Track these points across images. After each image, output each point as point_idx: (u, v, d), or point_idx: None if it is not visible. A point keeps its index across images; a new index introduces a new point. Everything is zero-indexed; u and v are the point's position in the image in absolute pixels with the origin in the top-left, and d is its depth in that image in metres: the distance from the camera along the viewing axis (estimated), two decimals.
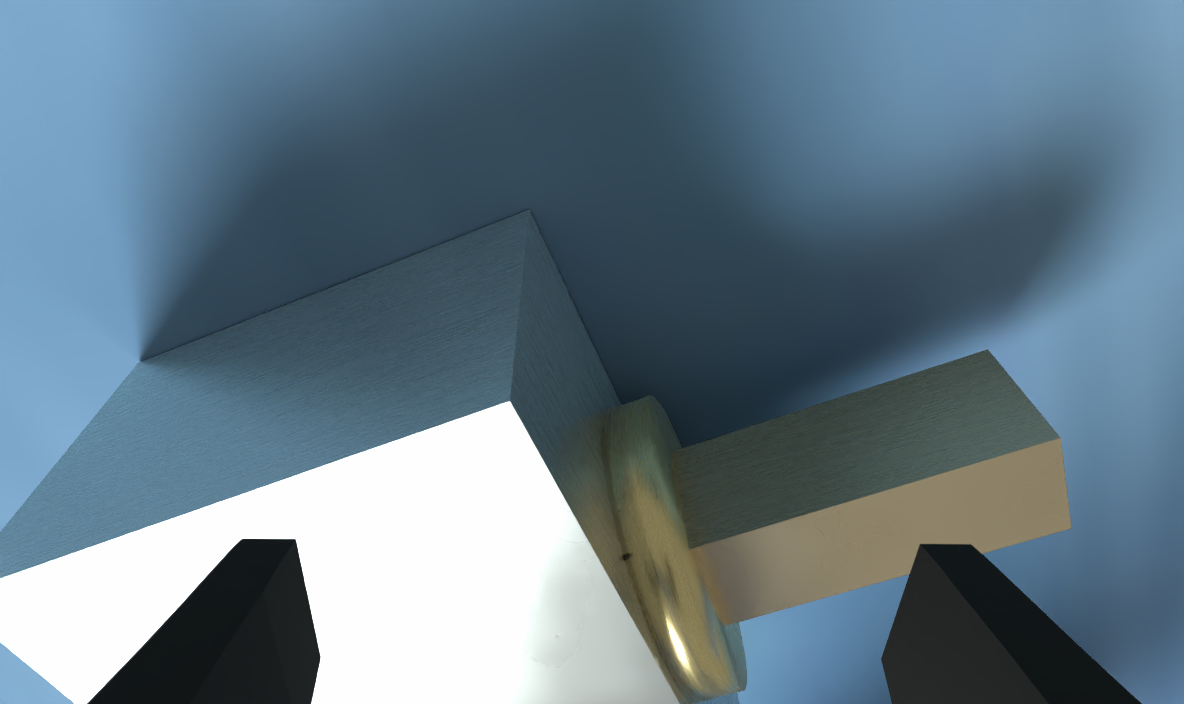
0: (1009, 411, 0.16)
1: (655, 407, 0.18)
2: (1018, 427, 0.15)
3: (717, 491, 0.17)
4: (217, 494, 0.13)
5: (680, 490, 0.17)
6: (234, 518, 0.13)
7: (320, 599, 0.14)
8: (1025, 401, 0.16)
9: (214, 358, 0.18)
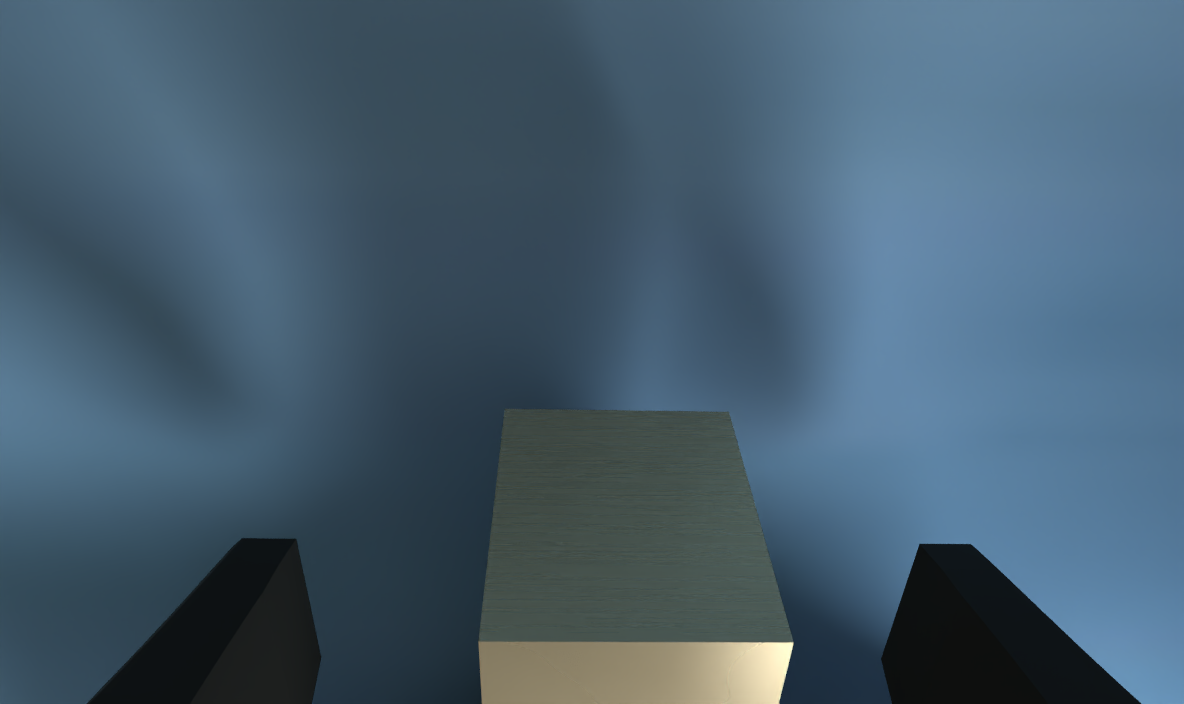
0: None
1: None
2: None
3: None
4: None
5: None
6: None
7: None
8: (490, 539, 0.07)
9: None
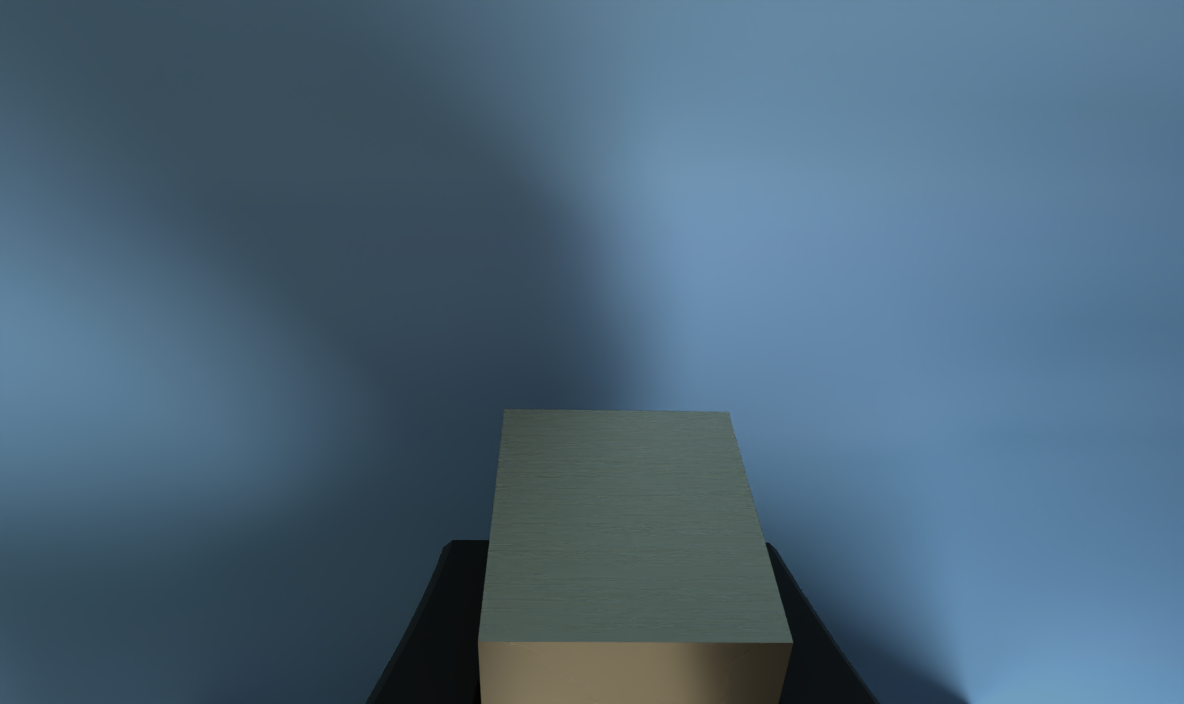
0: None
1: None
2: None
3: None
4: None
5: None
6: None
7: None
8: None
9: None
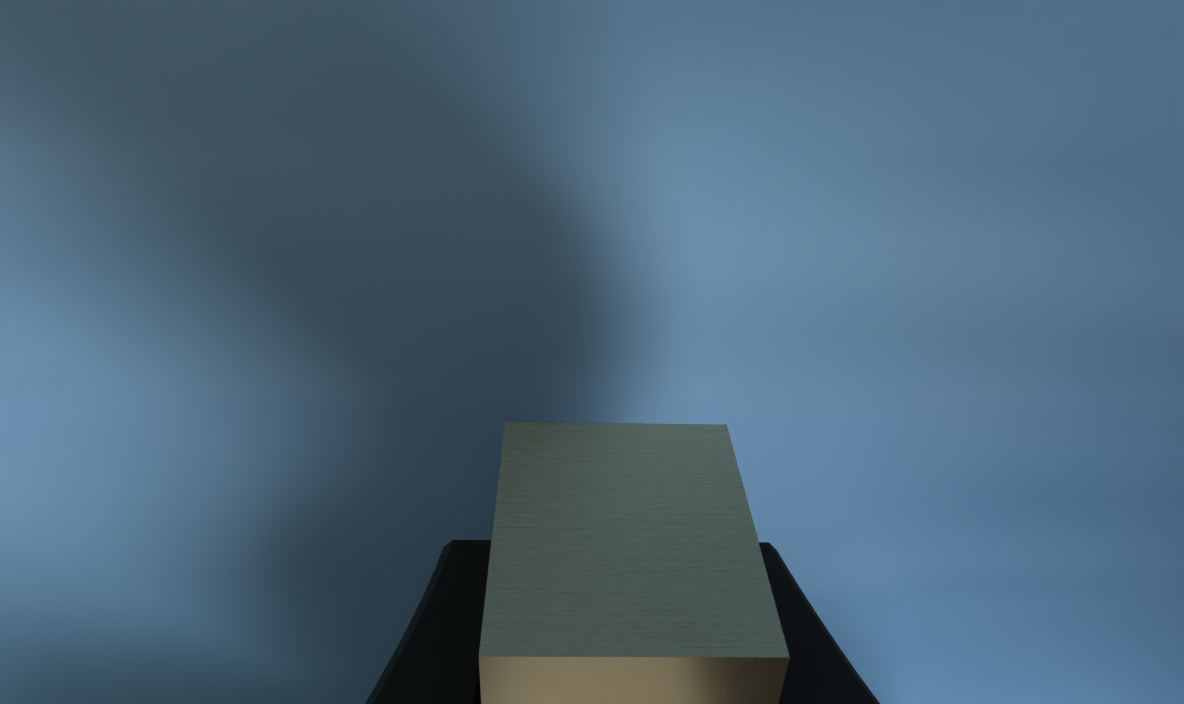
0: None
1: None
2: None
3: None
4: None
5: None
6: None
7: None
8: (490, 553, 0.07)
9: None
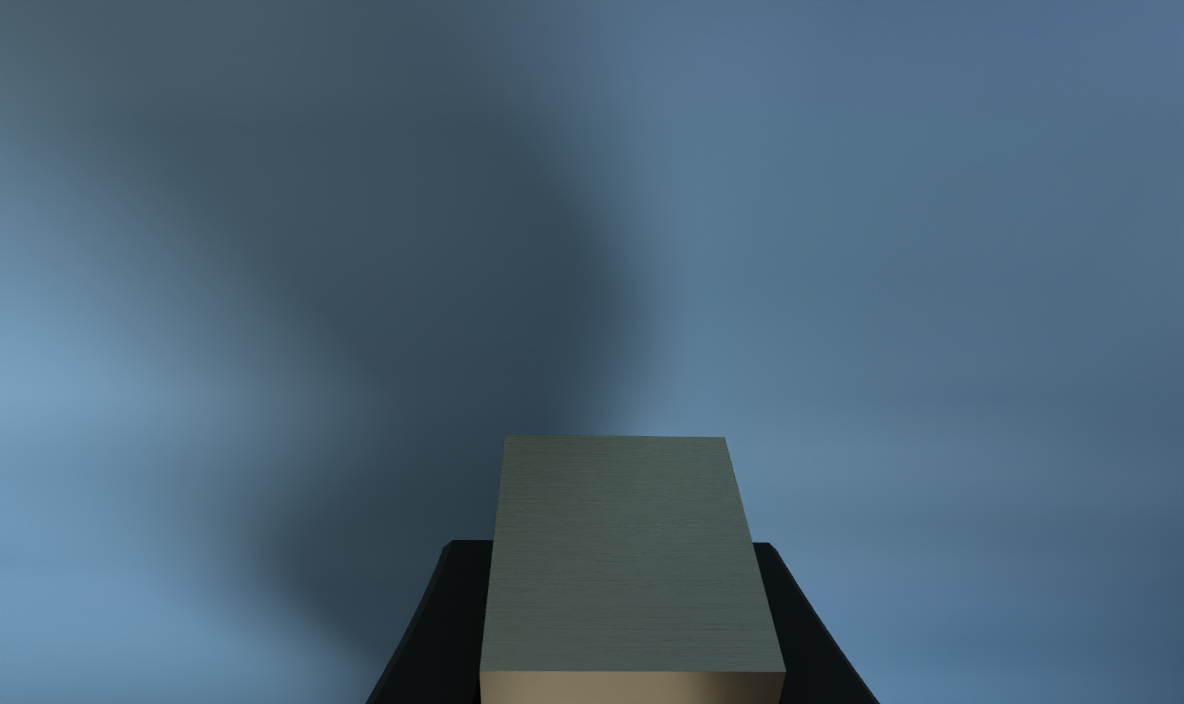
0: None
1: None
2: None
3: None
4: None
5: None
6: None
7: None
8: None
9: None
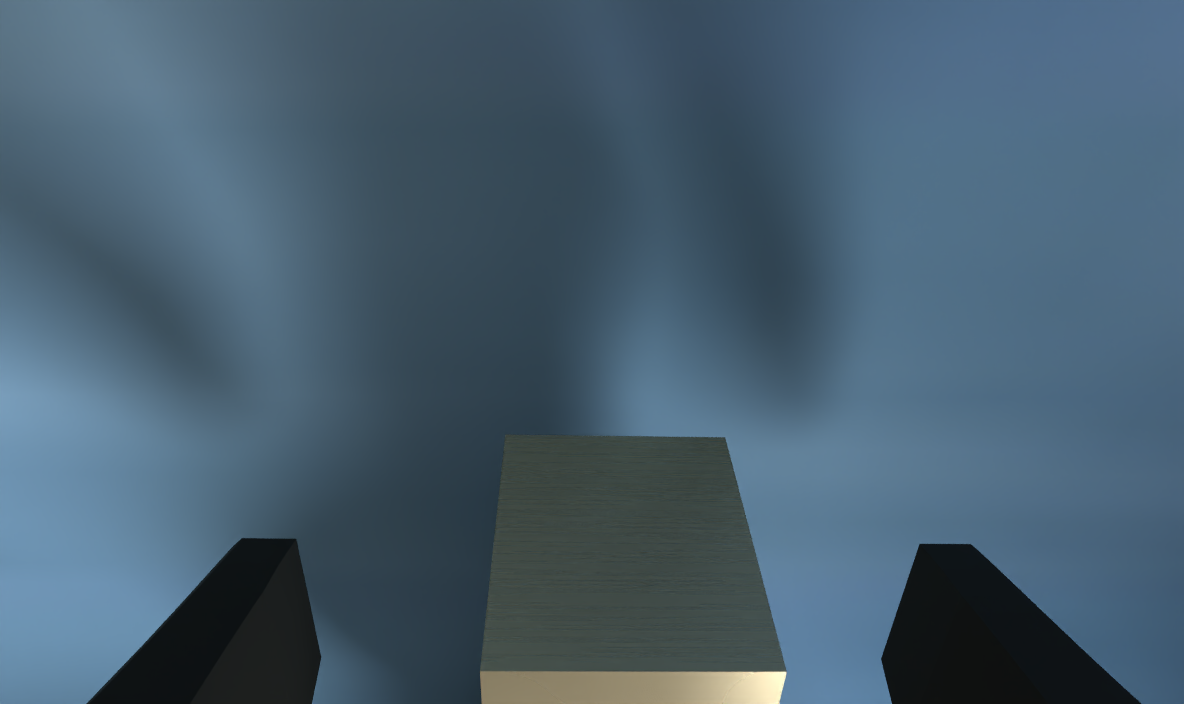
0: None
1: None
2: None
3: None
4: None
5: None
6: None
7: None
8: (491, 567, 0.07)
9: None
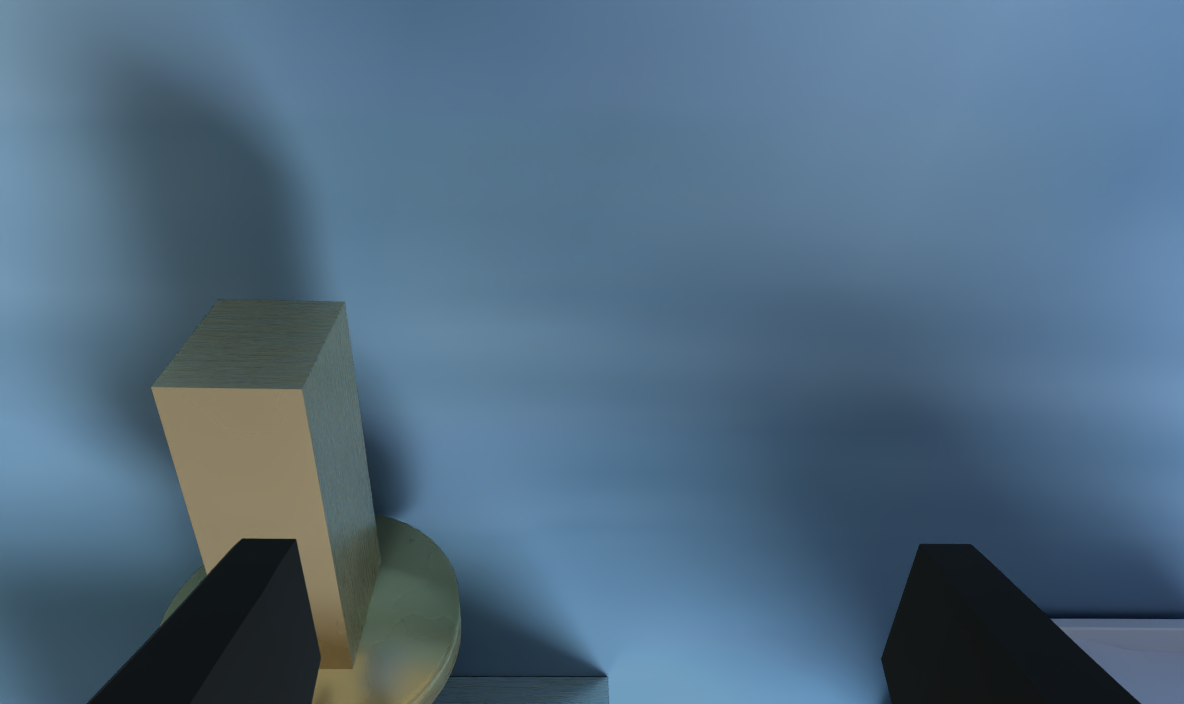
0: None
1: None
2: None
3: None
4: None
5: None
6: None
7: None
8: None
9: None
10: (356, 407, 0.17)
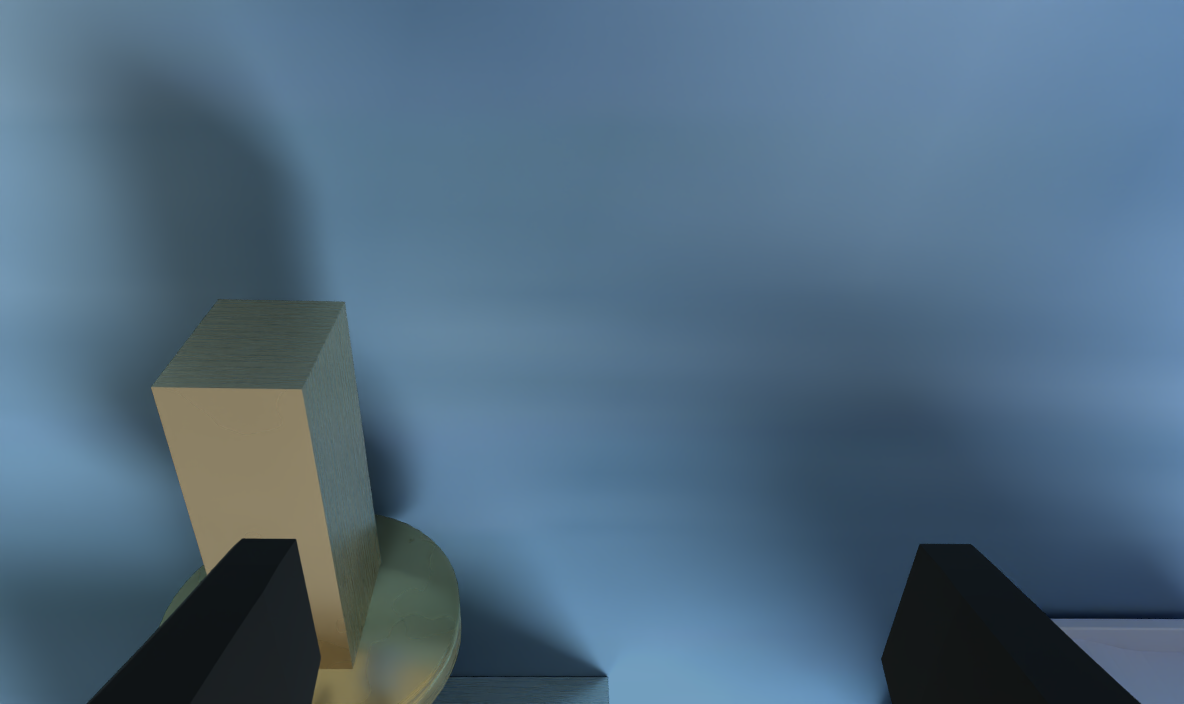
0: None
1: None
2: None
3: None
4: None
5: None
6: None
7: None
8: None
9: None
10: (356, 407, 0.17)
